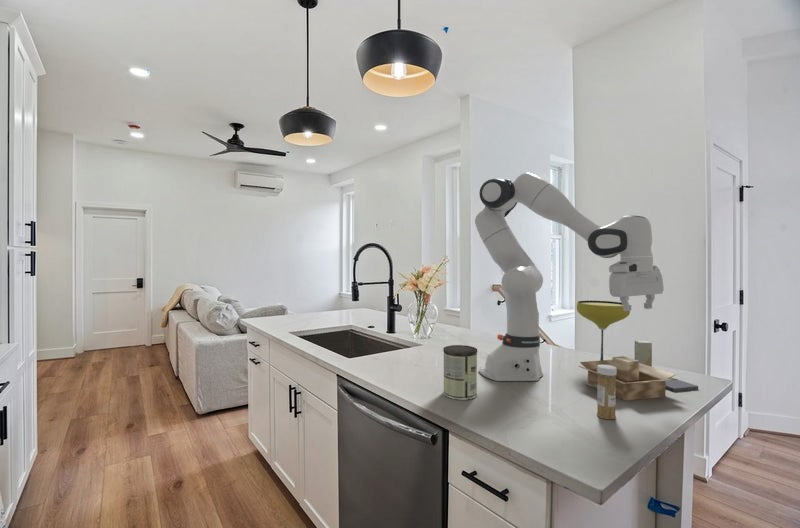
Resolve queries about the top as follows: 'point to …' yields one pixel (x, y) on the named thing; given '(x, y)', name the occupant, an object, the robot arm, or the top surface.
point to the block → (626, 369)
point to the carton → (647, 387)
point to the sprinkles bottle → (606, 391)
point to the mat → (679, 385)
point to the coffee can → (460, 372)
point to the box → (643, 352)
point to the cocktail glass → (602, 314)
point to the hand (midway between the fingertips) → (637, 309)
